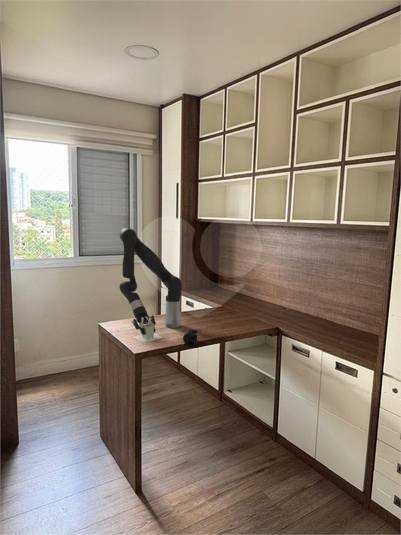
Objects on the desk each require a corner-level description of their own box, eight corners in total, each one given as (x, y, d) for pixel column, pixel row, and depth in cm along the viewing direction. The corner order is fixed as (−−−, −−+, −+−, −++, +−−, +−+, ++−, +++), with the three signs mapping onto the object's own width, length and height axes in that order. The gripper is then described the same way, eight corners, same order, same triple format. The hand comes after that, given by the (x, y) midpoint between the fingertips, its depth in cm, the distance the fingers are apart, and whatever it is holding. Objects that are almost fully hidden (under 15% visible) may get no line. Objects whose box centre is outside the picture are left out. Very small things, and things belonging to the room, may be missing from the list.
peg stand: (152, 334, 220) (152, 322, 219) (163, 340, 211) (163, 327, 210) (131, 339, 210) (131, 327, 209) (143, 345, 202) (143, 332, 200)
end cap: (185, 339, 214) (185, 327, 213) (197, 339, 213) (197, 328, 212) (182, 344, 204) (182, 333, 203) (195, 345, 203) (195, 334, 202)
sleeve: (149, 335, 214) (149, 323, 213) (153, 337, 210) (153, 325, 209) (142, 337, 211) (142, 325, 210) (146, 339, 207) (146, 327, 206)
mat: (136, 326, 235) (136, 325, 235) (148, 331, 225) (148, 330, 225) (116, 330, 226) (116, 329, 226) (128, 336, 216) (128, 335, 215)
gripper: (130, 307, 209) (141, 332, 202) (151, 303, 218) (162, 327, 211) (125, 314, 213) (136, 339, 206) (146, 310, 223) (157, 334, 216)
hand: (149, 333), depth 209 cm, fingers open, 6 cm apart
